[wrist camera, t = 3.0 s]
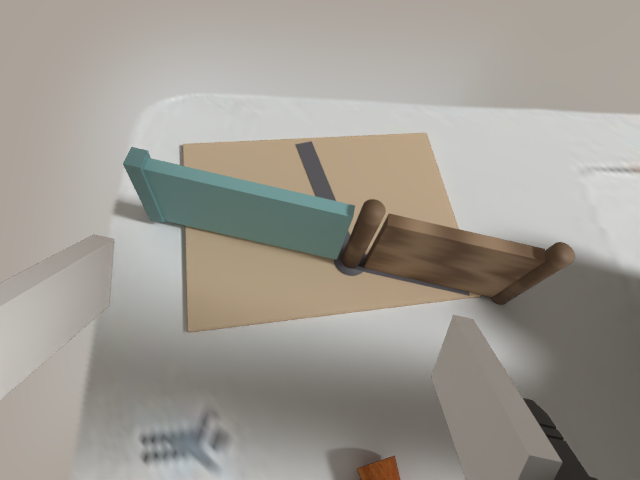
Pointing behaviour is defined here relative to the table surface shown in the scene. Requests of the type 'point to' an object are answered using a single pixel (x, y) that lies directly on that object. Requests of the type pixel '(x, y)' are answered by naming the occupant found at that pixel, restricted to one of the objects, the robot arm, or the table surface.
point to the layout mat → (303, 268)
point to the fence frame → (450, 255)
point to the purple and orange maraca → (380, 470)
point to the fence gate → (238, 206)
